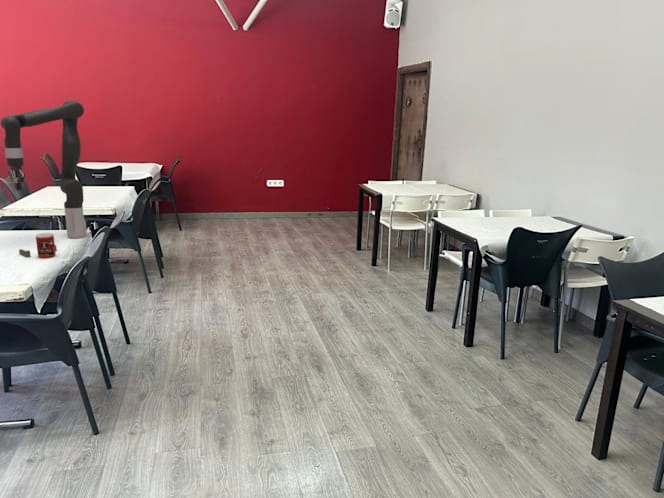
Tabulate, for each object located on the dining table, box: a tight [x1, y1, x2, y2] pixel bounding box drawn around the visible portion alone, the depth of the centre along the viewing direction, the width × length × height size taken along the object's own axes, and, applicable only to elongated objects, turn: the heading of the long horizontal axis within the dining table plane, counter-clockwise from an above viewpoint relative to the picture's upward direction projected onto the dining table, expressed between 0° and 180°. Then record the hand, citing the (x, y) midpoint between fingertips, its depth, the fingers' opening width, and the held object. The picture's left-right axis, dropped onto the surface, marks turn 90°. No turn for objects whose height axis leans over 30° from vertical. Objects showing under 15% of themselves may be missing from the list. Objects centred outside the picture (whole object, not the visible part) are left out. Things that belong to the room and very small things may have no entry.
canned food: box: [35, 232, 56, 259], centre depth 248 cm, size 8×8×11 cm
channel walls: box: [18, 248, 26, 257], centre depth 254 cm, size 14×6×2 cm, turn 148°
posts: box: [24, 244, 58, 258], centre depth 252 cm, size 15×2×3 cm, turn 148°
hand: (18, 190), depth 262 cm, fingers closed
